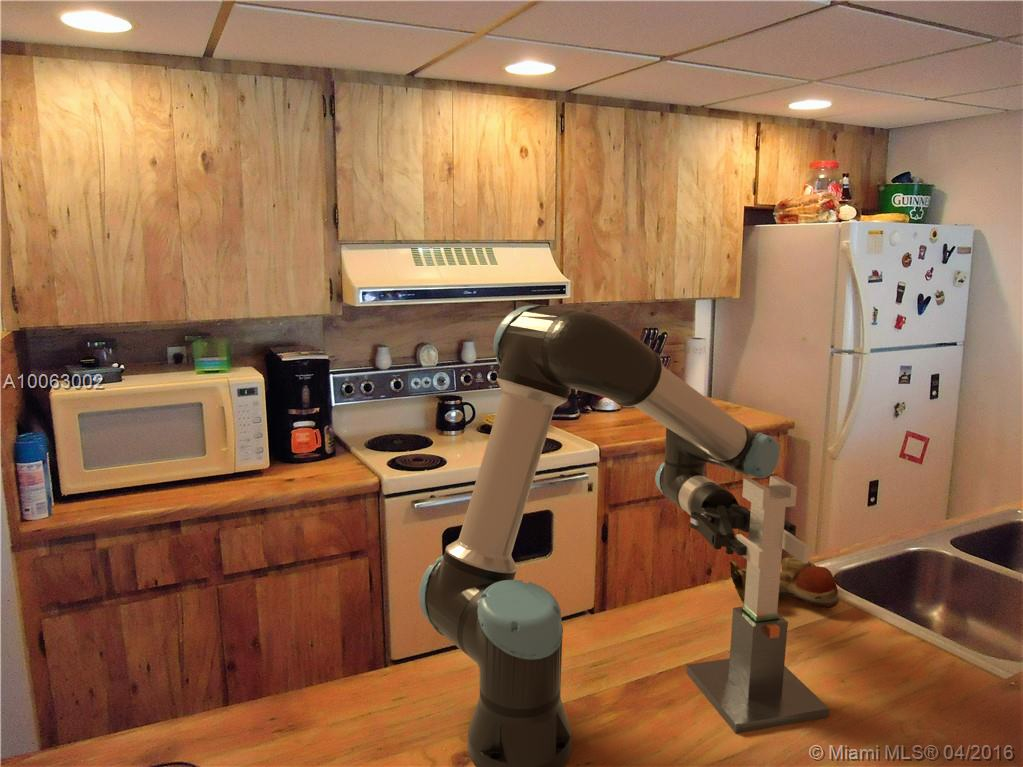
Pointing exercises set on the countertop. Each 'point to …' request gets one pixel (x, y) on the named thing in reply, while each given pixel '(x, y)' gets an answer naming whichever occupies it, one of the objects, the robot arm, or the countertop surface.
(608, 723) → the countertop surface
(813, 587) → the beige sneaker
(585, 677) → the countertop surface
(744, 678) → the stand
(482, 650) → the robot arm
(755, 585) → the column
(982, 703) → the countertop surface
